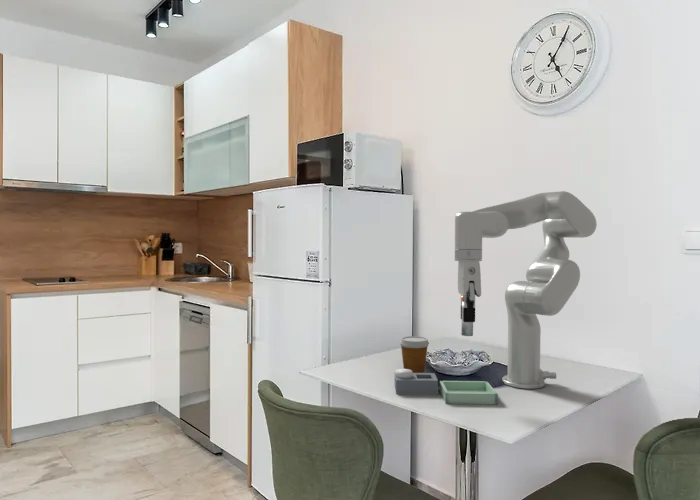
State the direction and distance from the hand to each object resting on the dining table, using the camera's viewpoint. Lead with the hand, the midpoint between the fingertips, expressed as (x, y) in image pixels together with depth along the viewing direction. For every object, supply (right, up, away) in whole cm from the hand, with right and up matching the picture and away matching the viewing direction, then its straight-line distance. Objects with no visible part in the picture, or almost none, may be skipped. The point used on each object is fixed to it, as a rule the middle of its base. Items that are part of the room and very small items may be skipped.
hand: (467, 320), depth 145 cm
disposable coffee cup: (-12, -21, +23) cm, 34 cm away
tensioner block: (-14, -22, +7) cm, 27 cm away
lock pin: (0, -4, 0) cm, 4 cm away
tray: (0, -22, +1) cm, 22 cm away
